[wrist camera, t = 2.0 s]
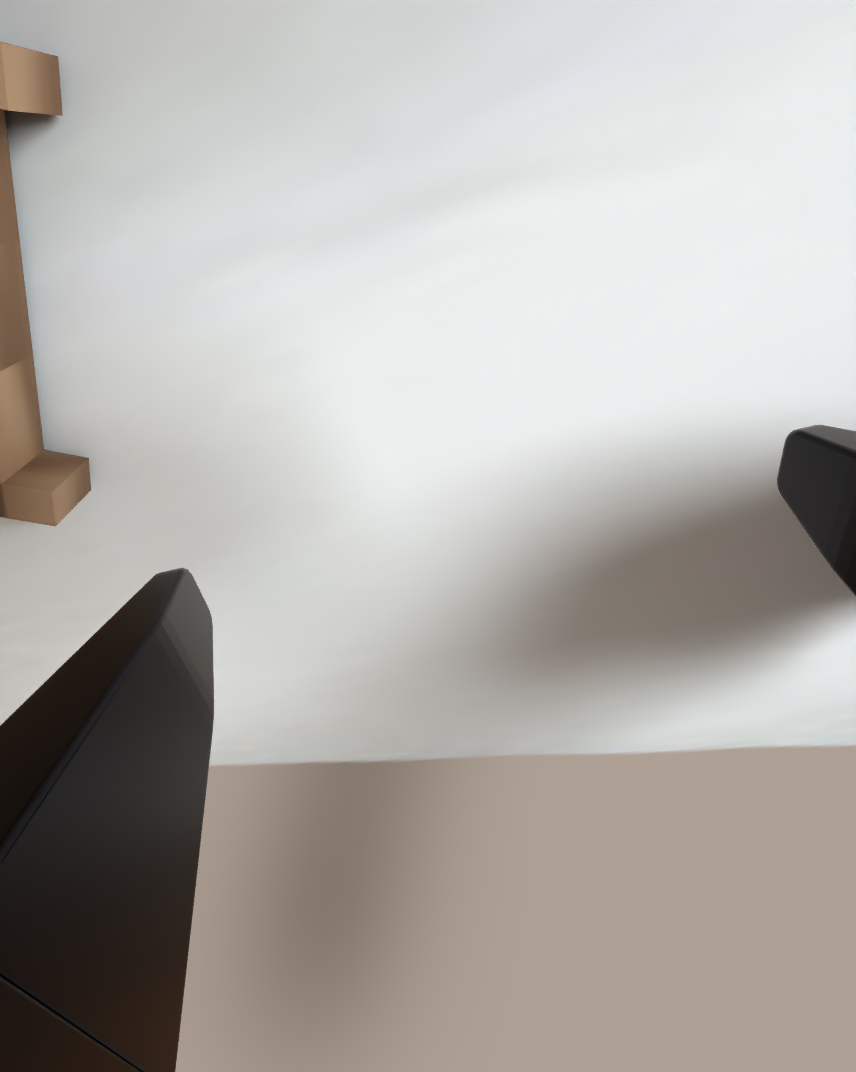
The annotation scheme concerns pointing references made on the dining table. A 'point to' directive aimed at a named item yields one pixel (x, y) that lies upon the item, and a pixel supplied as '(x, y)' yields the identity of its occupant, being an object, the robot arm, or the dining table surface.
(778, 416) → the dining table surface
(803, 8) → the dining table surface
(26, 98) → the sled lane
